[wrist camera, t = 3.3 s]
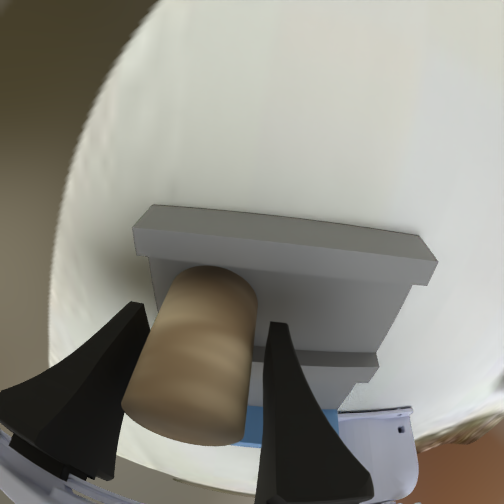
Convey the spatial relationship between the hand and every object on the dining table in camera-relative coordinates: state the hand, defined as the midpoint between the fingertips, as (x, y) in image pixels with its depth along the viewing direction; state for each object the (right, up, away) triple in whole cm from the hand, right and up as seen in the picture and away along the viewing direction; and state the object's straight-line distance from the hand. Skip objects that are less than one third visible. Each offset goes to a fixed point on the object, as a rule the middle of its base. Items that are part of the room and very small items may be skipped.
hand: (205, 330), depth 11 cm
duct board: (+3, -2, +4) cm, 5 cm away
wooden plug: (0, +1, +1) cm, 2 cm away
